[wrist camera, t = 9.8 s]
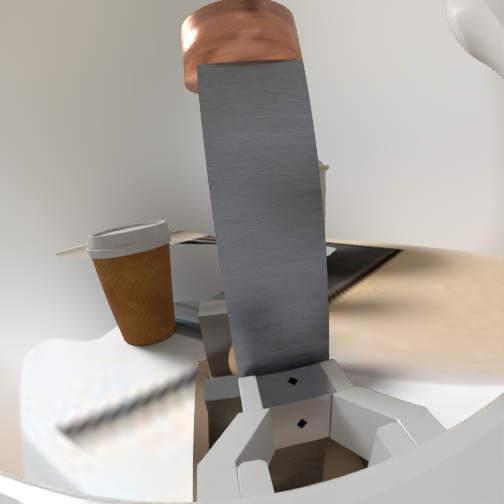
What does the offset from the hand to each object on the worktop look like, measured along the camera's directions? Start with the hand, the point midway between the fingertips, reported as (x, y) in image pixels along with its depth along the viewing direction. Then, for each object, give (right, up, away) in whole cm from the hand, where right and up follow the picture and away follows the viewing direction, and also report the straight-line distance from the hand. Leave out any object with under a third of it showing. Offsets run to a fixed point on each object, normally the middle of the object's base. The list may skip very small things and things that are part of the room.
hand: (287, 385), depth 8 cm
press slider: (0, -6, +4) cm, 7 cm away
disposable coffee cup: (-13, -5, +23) cm, 27 cm away
